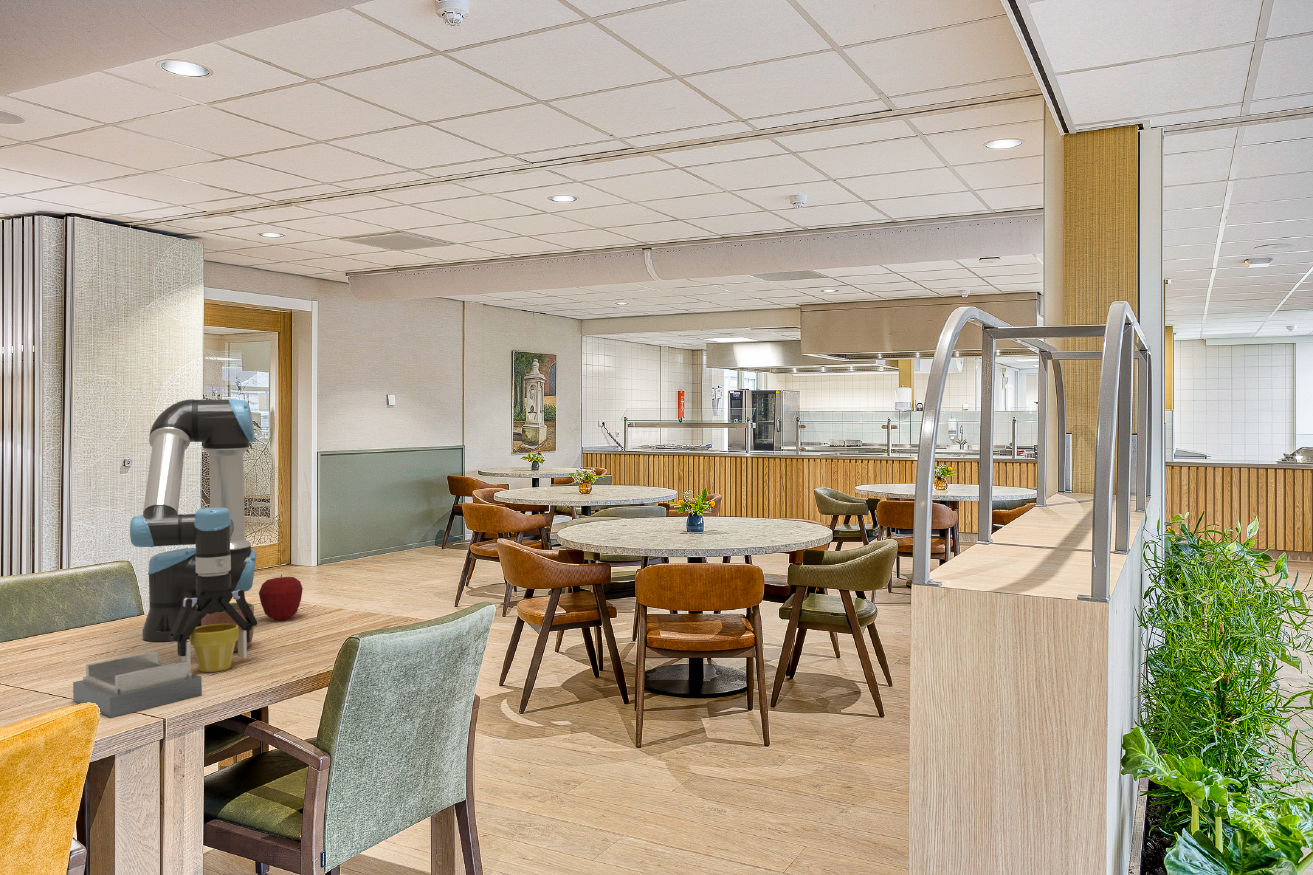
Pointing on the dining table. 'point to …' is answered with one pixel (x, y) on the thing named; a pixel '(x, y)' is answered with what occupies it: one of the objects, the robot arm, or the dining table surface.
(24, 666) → the dining table surface
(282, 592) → the apple
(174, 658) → the dining table surface
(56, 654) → the dining table surface
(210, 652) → the plant pot
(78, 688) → the grey square tray
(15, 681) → the dining table surface
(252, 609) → the planter
